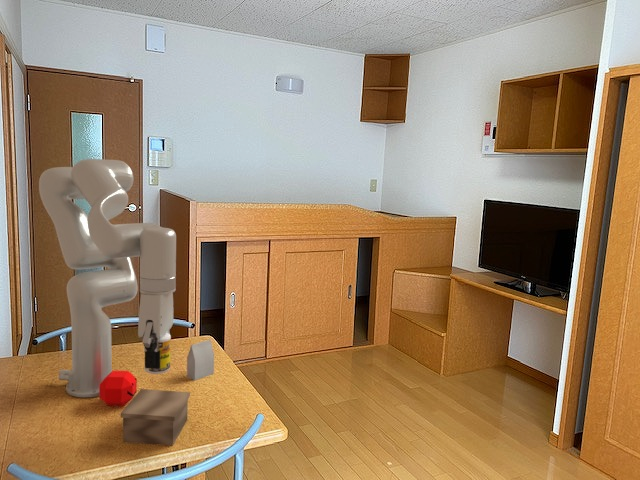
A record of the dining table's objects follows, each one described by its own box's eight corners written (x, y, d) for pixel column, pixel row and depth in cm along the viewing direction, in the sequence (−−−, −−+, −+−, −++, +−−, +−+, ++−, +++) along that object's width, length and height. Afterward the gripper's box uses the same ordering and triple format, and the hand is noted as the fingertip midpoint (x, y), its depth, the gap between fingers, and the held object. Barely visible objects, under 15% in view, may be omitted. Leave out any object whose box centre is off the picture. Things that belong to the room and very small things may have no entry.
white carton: (213, 373, 148) (214, 341, 146) (194, 380, 142) (195, 347, 141) (205, 370, 150) (206, 338, 148) (186, 376, 145) (187, 343, 143)
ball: (130, 410, 124) (130, 381, 123) (96, 409, 123) (96, 380, 122) (138, 395, 132) (138, 367, 131) (107, 394, 131) (107, 367, 130)
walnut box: (120, 443, 110) (120, 413, 109) (140, 416, 121) (141, 388, 120) (174, 446, 110) (174, 416, 109) (189, 419, 121) (189, 392, 120)
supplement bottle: (148, 377, 109) (148, 332, 108) (141, 367, 114) (141, 324, 112) (173, 372, 112) (174, 328, 111) (166, 363, 117) (166, 321, 115)
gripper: (154, 274, 119) (154, 347, 121) (125, 292, 102) (125, 377, 104) (186, 276, 119) (185, 349, 121) (161, 295, 102) (161, 379, 104)
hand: (157, 361), depth 113 cm, fingers closed on supplement bottle, 5 cm apart
